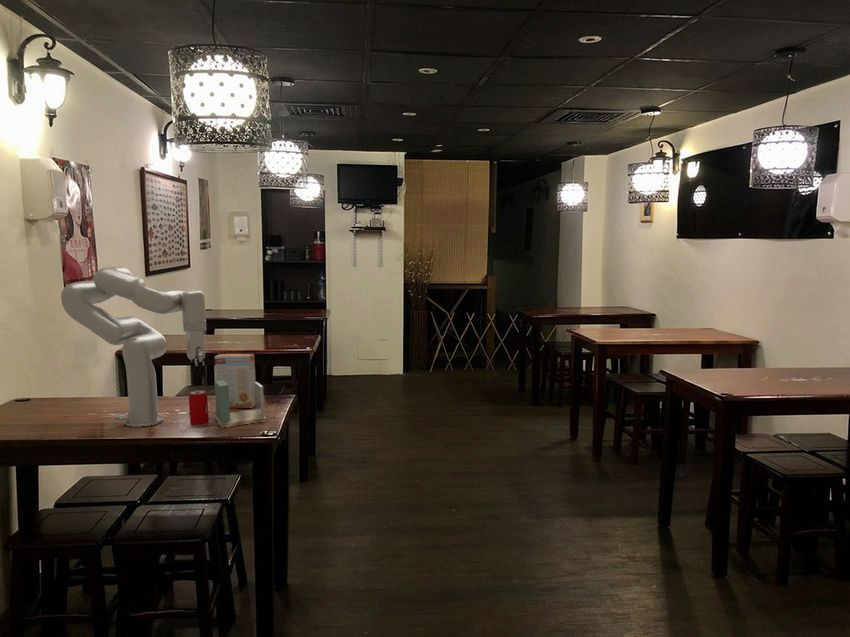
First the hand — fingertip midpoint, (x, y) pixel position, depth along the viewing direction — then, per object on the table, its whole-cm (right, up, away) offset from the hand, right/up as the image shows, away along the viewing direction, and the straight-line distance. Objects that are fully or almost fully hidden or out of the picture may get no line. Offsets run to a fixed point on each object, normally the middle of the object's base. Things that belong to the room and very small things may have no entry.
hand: (198, 374), depth 229 cm
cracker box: (+6, -15, +27) cm, 31 cm away
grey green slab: (+7, -16, +5) cm, 18 cm away
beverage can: (0, -18, +2) cm, 18 cm away
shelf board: (+13, -17, +8) cm, 23 cm away
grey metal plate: (+19, -15, +11) cm, 27 cm away
